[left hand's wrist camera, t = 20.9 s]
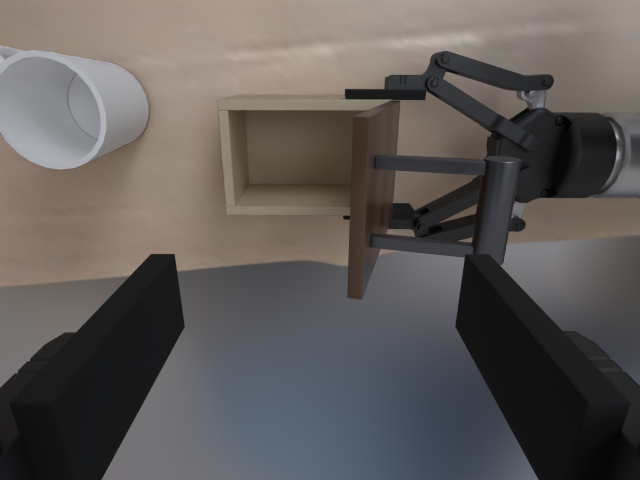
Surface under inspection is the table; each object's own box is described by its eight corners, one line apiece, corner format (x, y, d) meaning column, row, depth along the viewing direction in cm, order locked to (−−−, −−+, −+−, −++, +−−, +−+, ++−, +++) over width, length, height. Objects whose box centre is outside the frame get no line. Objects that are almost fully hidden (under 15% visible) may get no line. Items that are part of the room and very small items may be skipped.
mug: (173, 105, 42) (129, 113, 32) (120, 166, 44) (65, 191, 35) (80, 17, 39) (2, -2, 30) (29, 88, 41) (-58, 91, 32)
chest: (243, 189, 45) (226, 215, 37) (237, 95, 42) (216, 99, 33) (374, 189, 45) (386, 215, 37) (378, 95, 42) (394, 100, 33)
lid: (347, 298, 23) (502, 319, 21) (352, 116, 20) (540, 121, 18) (382, 216, 37) (479, 225, 35) (390, 100, 33) (498, 102, 31)
